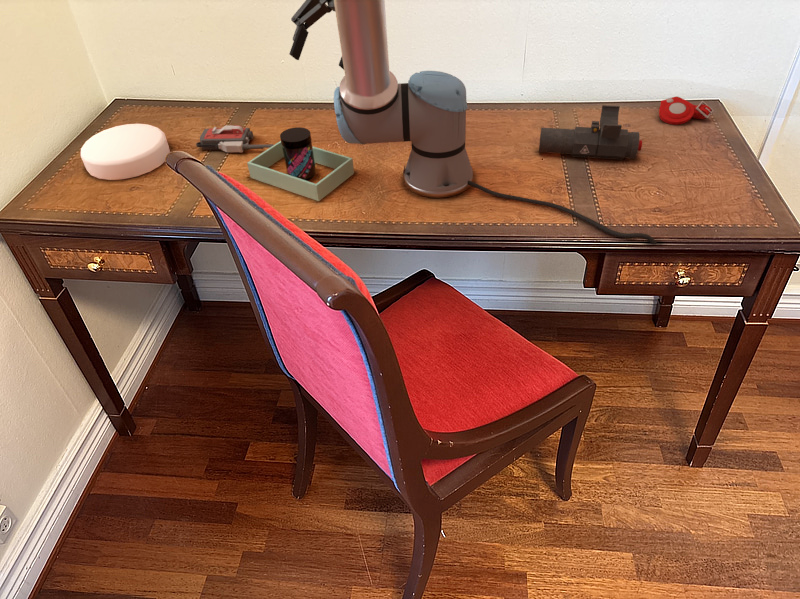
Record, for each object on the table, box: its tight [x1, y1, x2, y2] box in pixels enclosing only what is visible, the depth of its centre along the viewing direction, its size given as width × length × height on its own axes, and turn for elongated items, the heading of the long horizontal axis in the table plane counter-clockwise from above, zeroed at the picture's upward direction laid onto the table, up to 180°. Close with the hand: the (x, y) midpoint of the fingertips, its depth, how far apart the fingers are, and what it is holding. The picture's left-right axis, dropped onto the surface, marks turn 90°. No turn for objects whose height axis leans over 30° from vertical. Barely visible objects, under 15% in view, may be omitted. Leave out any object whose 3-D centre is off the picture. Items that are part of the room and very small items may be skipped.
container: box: [80, 123, 171, 181], centre depth 153 cm, size 20×20×5 cm
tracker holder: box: [658, 96, 715, 126], centre depth 156 cm, size 12×4×10 cm
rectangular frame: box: [246, 140, 355, 202], centre depth 143 cm, size 20×13×4 cm, turn 57°
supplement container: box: [279, 126, 317, 182], centre depth 141 cm, size 7×7×10 cm
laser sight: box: [538, 104, 643, 161], centre depth 142 cm, size 10×22×10 cm, turn 78°
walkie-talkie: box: [195, 124, 274, 153], centre depth 155 cm, size 9×4×20 cm
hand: (317, 62), depth 136 cm, fingers open, 13 cm apart
